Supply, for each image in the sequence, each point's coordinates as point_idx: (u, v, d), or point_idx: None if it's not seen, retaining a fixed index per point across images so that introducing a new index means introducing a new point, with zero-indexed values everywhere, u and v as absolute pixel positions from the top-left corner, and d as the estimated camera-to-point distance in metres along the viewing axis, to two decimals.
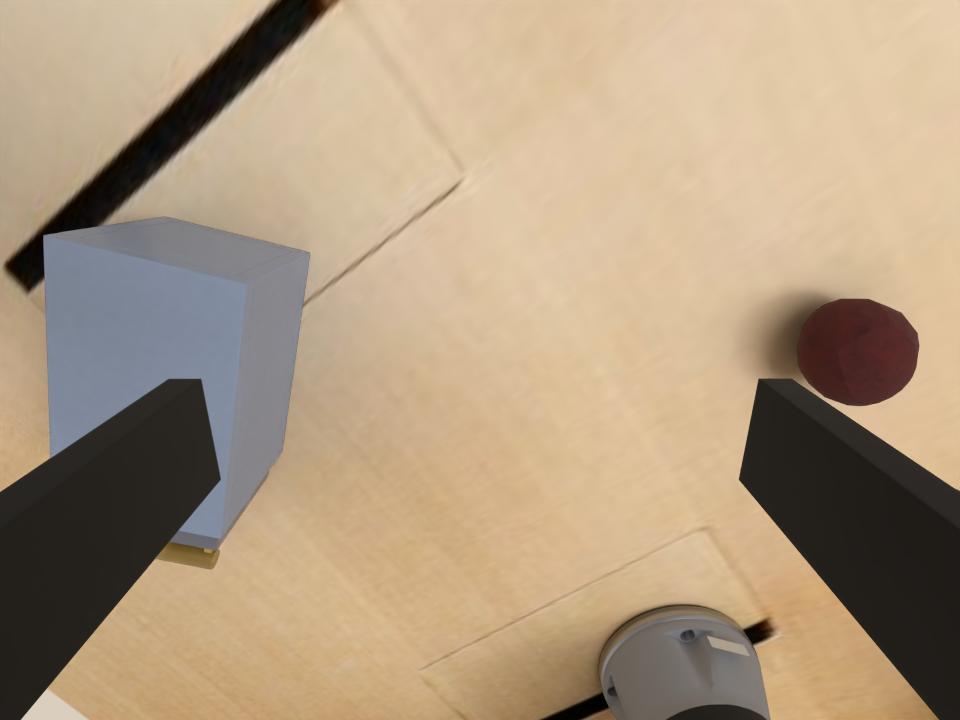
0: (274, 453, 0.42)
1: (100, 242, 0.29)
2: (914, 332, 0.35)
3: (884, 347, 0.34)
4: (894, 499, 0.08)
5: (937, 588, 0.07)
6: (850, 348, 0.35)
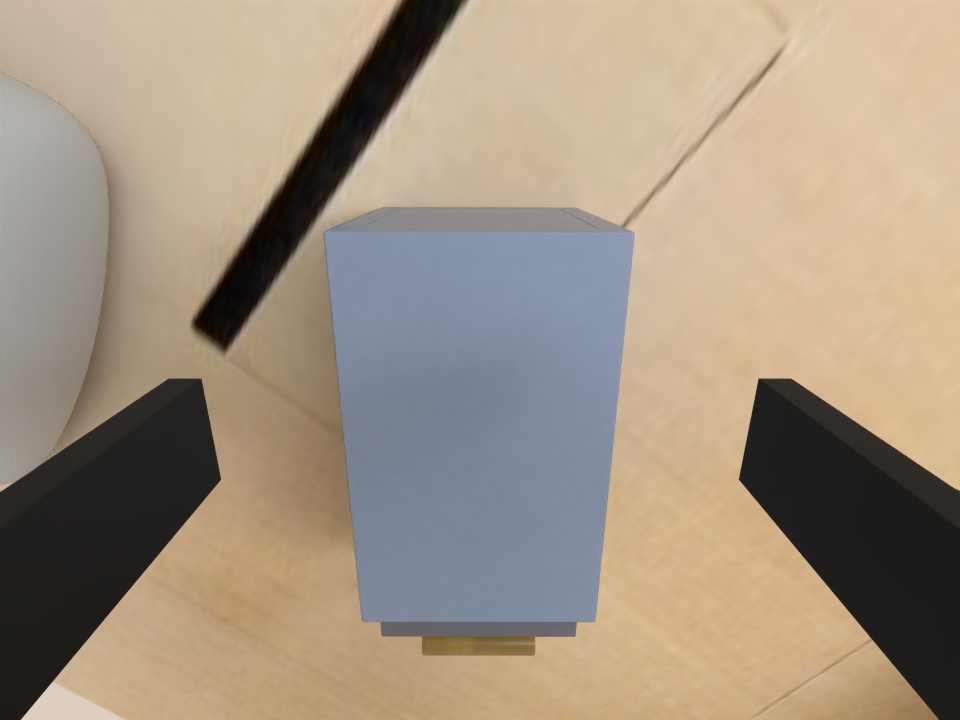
0: None
1: (392, 227, 0.19)
2: None
3: None
4: (894, 499, 0.08)
5: (937, 588, 0.07)
6: None
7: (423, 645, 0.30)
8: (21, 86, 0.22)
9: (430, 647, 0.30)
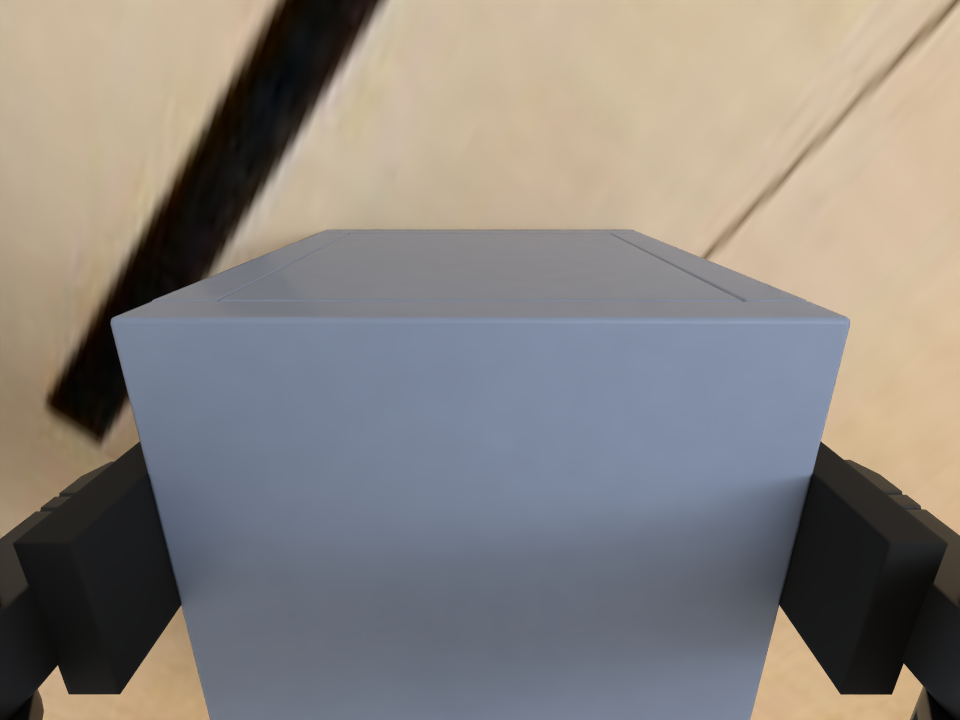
0: None
1: (288, 299, 0.08)
2: None
3: None
4: None
5: (820, 547, 0.08)
6: None
7: None
8: None
9: None
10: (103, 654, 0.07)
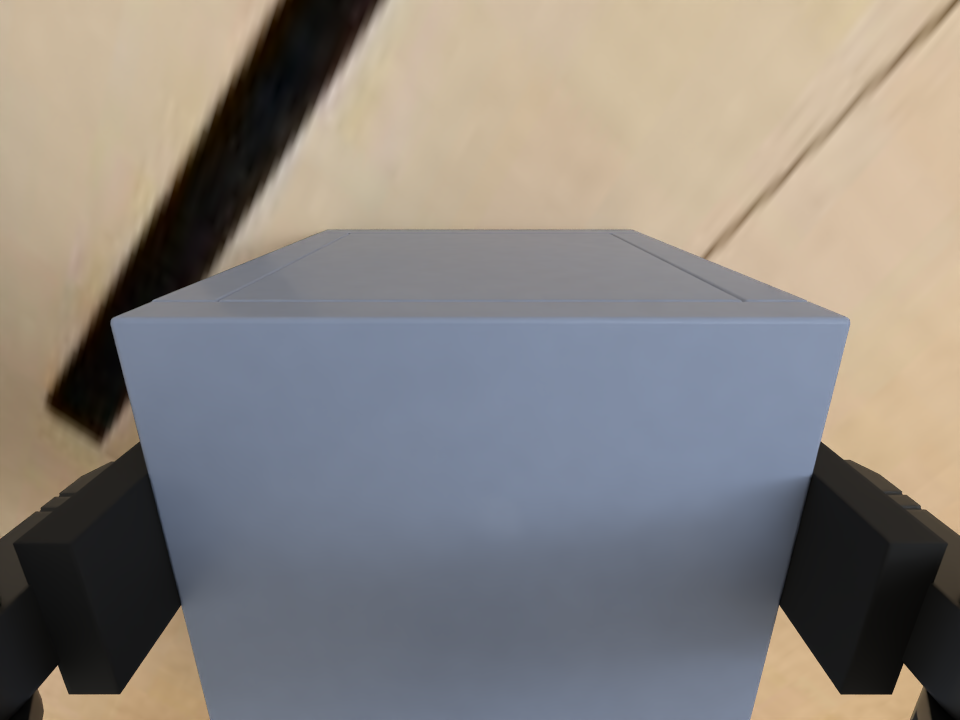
0: None
1: (288, 299, 0.08)
2: None
3: None
4: None
5: (820, 547, 0.08)
6: None
7: None
8: None
9: None
10: (103, 654, 0.07)
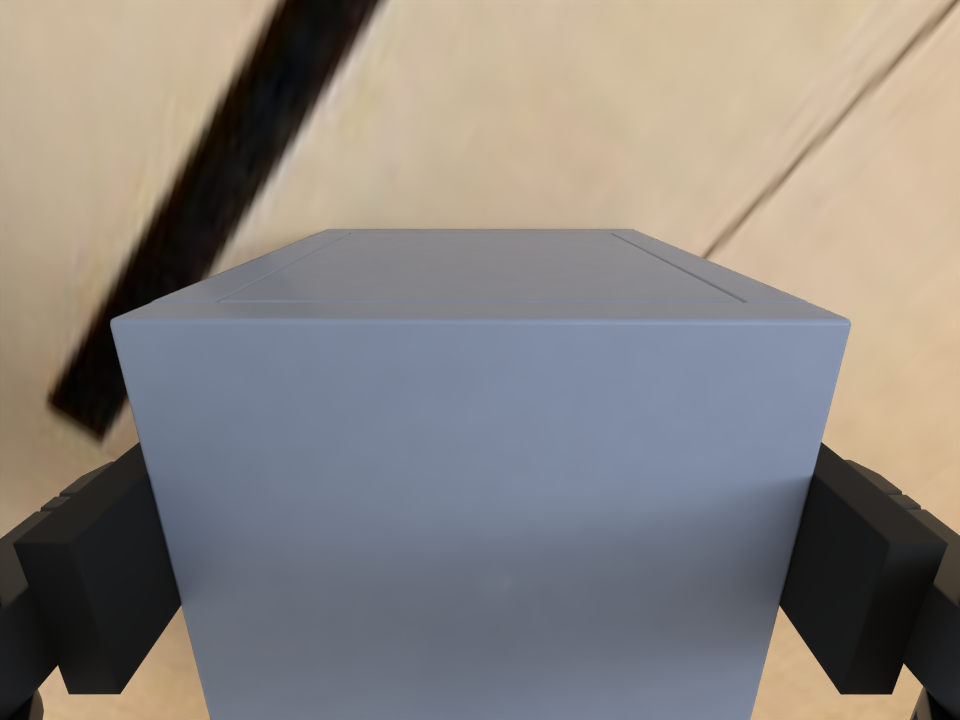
0: None
1: (288, 300, 0.08)
2: None
3: None
4: None
5: (820, 547, 0.08)
6: None
7: None
8: None
9: None
10: (103, 654, 0.07)
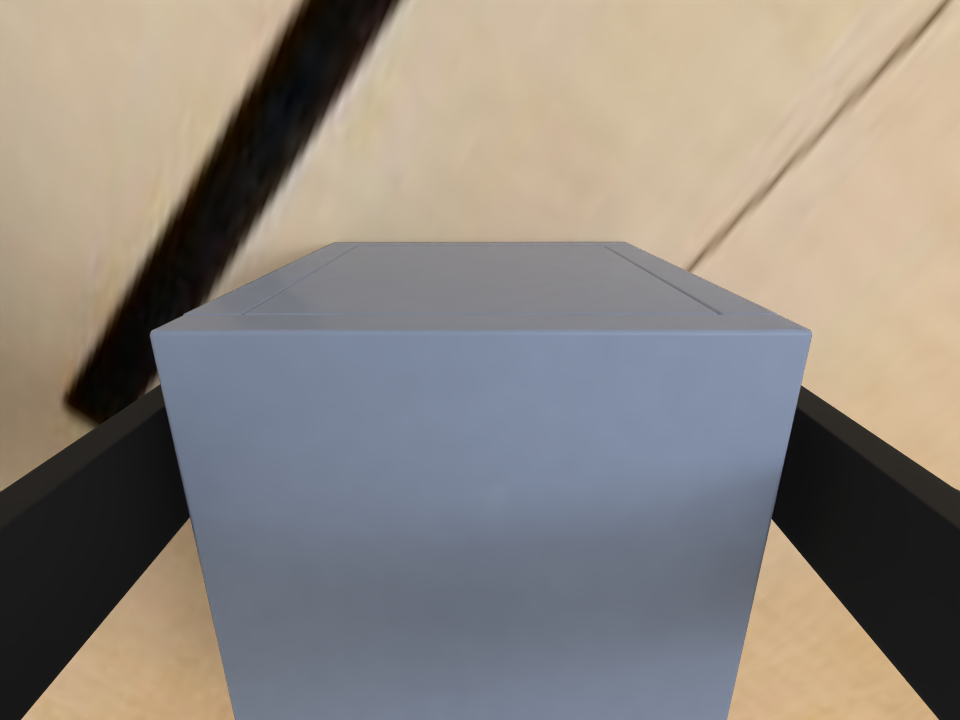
0: None
1: (307, 312, 0.09)
2: None
3: None
4: (894, 499, 0.08)
5: (937, 588, 0.07)
6: None
7: None
8: None
9: None
10: None
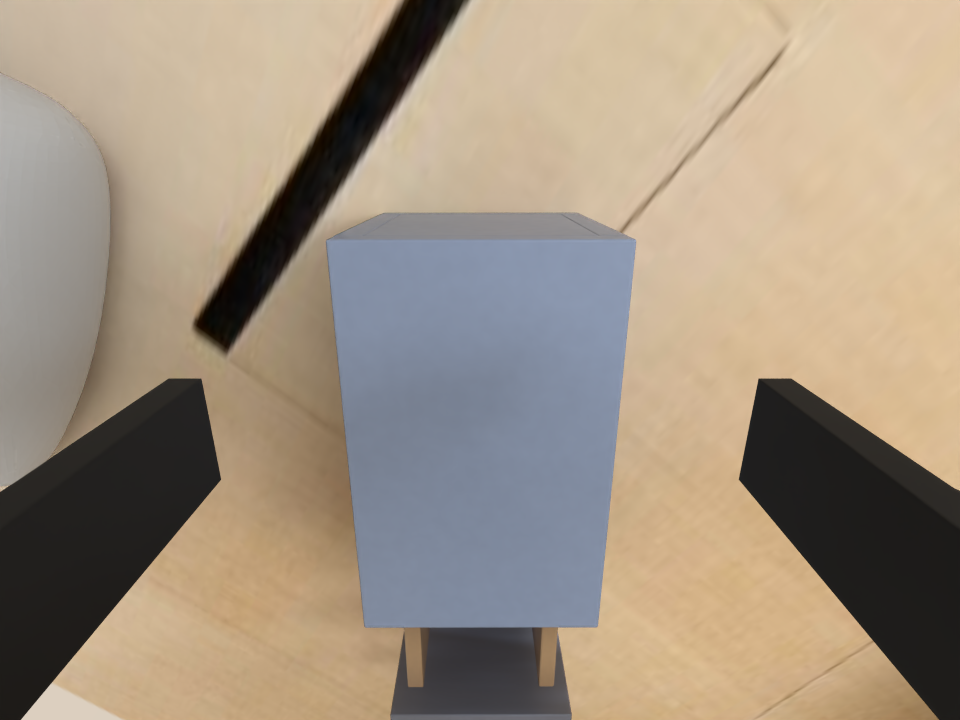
0: None
1: (394, 235, 0.19)
2: None
3: None
4: (894, 499, 0.08)
5: (937, 588, 0.07)
6: None
7: None
8: (22, 87, 0.22)
9: None
10: None
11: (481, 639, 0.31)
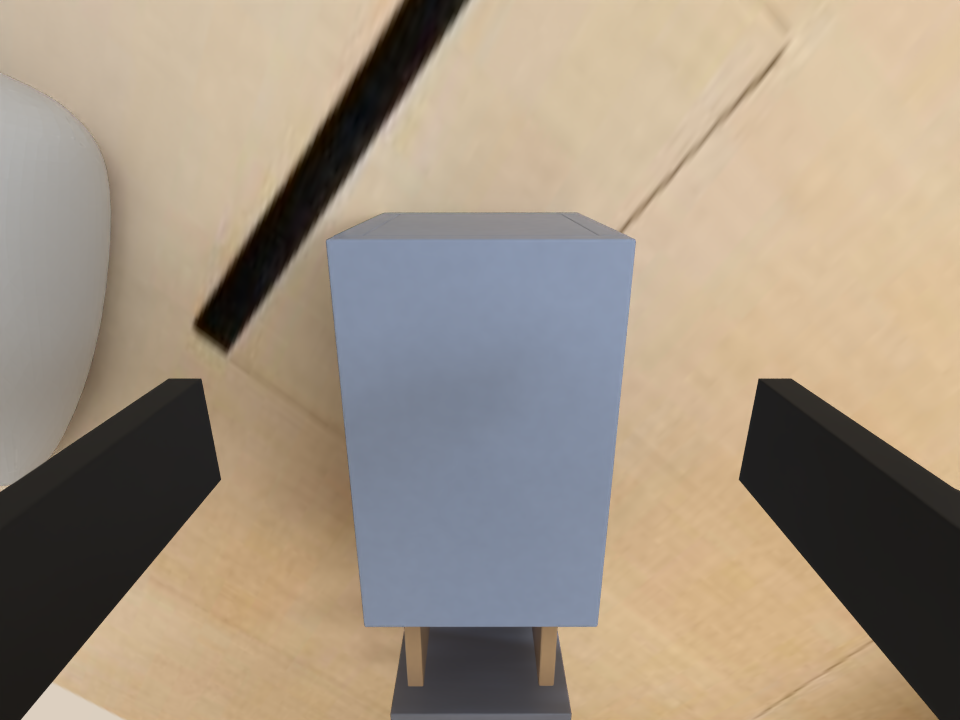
0: None
1: (394, 235, 0.19)
2: None
3: None
4: (894, 499, 0.08)
5: (937, 588, 0.07)
6: None
7: None
8: (23, 87, 0.22)
9: None
10: None
11: (481, 638, 0.31)
